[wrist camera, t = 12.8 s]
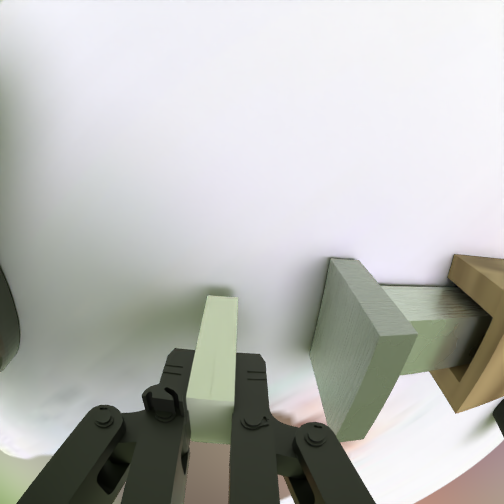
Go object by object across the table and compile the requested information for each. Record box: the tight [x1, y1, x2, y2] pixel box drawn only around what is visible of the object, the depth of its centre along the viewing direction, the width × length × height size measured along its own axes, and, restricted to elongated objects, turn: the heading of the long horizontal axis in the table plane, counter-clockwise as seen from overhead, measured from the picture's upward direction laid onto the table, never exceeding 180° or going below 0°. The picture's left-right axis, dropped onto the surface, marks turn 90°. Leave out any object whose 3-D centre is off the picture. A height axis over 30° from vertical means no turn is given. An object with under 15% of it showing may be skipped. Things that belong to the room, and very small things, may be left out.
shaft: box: [309, 258, 493, 442], centre depth 13 cm, size 18×6×7 cm, turn 85°
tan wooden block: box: [429, 254, 504, 414], centre depth 14 cm, size 8×8×6 cm
